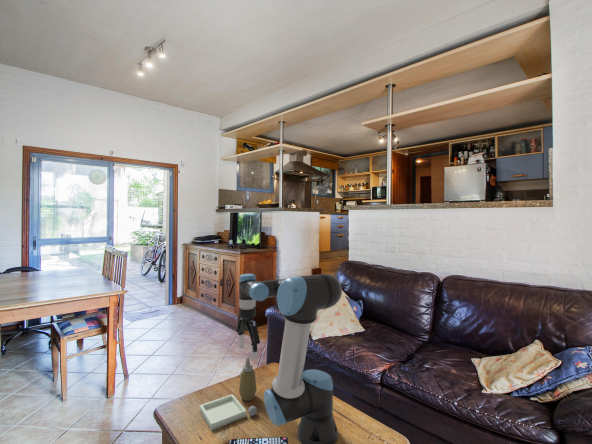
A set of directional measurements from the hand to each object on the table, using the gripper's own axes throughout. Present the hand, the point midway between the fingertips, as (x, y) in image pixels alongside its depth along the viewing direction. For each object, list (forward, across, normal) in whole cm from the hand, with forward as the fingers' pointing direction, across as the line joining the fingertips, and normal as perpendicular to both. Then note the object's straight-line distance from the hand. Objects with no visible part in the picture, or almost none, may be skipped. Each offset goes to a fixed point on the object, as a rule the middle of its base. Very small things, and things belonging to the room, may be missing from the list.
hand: (247, 353), depth 140 cm
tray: (+20, -5, +14) cm, 25 cm away
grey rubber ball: (+20, -13, +4) cm, 25 cm away
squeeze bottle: (+21, 0, 0) cm, 21 cm away
